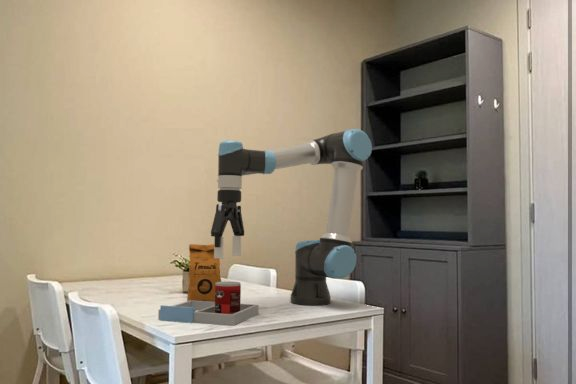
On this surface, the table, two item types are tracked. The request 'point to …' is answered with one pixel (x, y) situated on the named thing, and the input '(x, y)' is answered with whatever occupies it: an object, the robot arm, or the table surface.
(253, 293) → the table surface
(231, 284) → the canned food
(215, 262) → the coffee package
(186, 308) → the grey shallow tray
